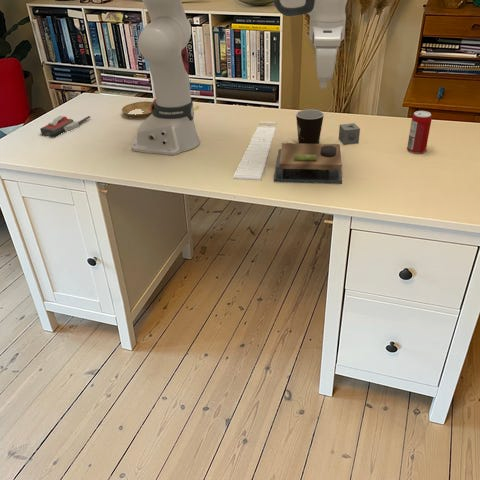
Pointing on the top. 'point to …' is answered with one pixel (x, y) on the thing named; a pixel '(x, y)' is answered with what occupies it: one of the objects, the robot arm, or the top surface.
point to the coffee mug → (309, 126)
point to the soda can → (419, 132)
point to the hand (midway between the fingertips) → (322, 86)
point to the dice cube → (349, 133)
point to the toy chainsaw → (60, 126)
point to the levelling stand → (306, 175)
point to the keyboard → (256, 154)
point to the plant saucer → (138, 105)
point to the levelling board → (309, 151)
